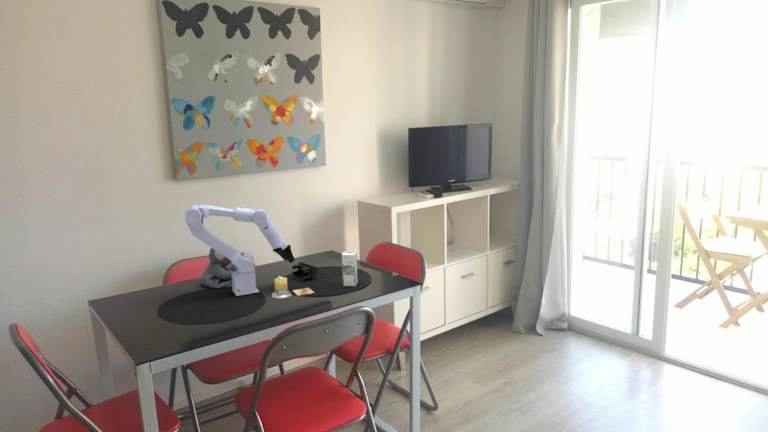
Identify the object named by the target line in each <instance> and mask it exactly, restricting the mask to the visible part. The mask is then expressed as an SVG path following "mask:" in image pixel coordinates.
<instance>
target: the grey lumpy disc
mask: <svg viewBox="0 0 768 432" xmlns="http://www.w3.org/2000/svg"><path fill="white" fill-rule="evenodd" d="M292 295H293V294H292V291H290V290H289V288H288V287H287V289H286V290H275V289H274V292H272V293H271V298H273V299H275V300H276V299H279V300H280V299H287V298H290V297H292Z"/></svg>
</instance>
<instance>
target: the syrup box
mask: <svg viewBox="0 0 768 432" xmlns="http://www.w3.org/2000/svg"><path fill="white" fill-rule="evenodd" d="M341 268H342V269H341V271H342V286H343V287H353V288H354V287H356V286H357V285H358V252H357V250H355V251H354V250H343V252H342V254H341Z"/></svg>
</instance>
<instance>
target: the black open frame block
mask: <svg viewBox="0 0 768 432" xmlns="http://www.w3.org/2000/svg"><path fill="white" fill-rule="evenodd" d="M291 268H292V270H293V271H292V276H293V277H292V278H293V279H294V280H297V281H299V282H302V283H304V282H305V283H308V281H309V282H312V281H314V279H316V278H317V276H318V271H319V270H318V268H317V267H316V265H315V266H314V265H312V264H308V263H306V262H304V261H303V262H302V261H298V263H297V264H295V265H292V267H291ZM296 269H297V270H296ZM311 280H312V281H311Z"/></svg>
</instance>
